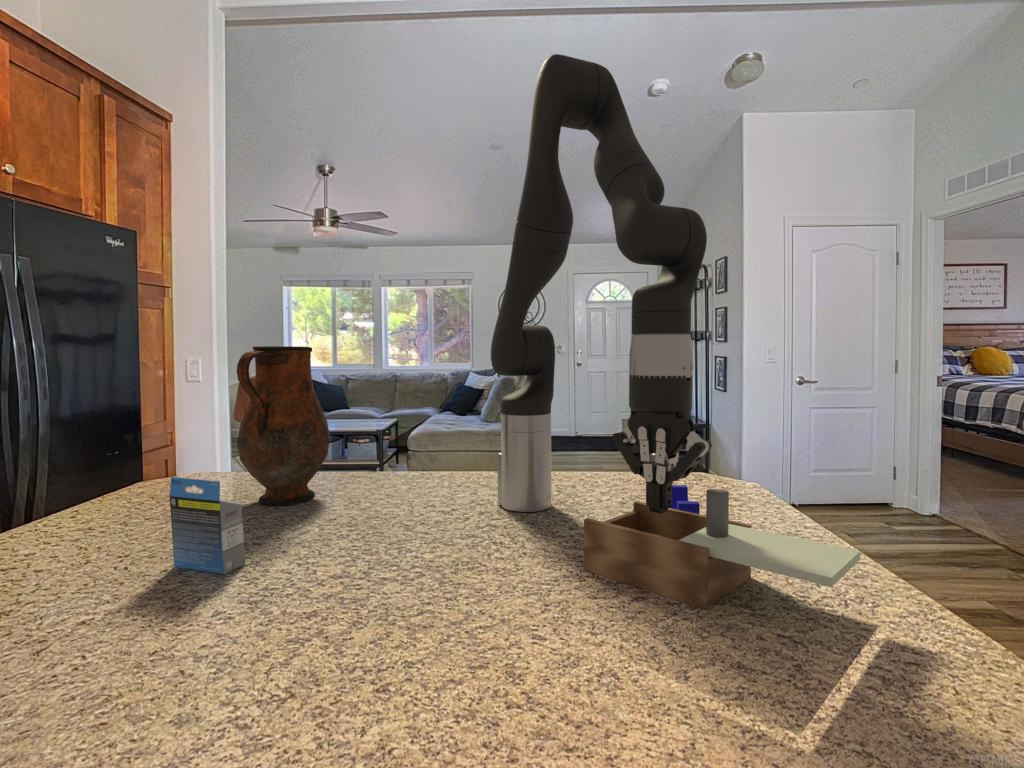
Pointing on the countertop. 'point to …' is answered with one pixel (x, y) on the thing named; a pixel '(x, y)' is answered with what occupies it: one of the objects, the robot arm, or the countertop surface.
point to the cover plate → (769, 547)
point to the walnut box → (660, 555)
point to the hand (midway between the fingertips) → (658, 511)
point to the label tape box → (205, 527)
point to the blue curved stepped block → (683, 500)
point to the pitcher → (282, 423)
